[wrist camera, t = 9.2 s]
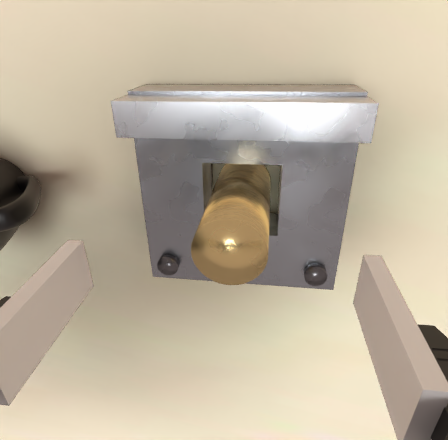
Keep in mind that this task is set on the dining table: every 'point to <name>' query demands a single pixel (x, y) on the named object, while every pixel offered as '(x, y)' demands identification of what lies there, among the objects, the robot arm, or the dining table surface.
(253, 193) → the brass cylinder
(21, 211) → the mug
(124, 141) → the dining table surface
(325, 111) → the jig
